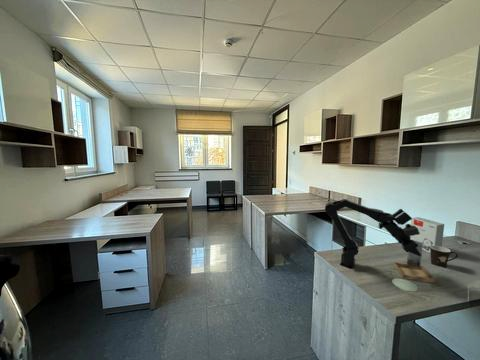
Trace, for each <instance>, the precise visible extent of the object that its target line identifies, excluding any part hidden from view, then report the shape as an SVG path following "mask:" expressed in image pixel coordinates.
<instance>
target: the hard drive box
mask: <svg viewBox="0 0 480 360" xmlns="http://www.w3.org/2000/svg"><path fill="white" fill-rule="evenodd" d="M411 218H412V219H411V220H410V225H411V226H412V225H413V226H416V227H417V229H418V231H419V233H420V234H419V235H413V236H410V237H411V238H410V240H414V241H418V242H421V243H422V244H423V247H422V251H424V252H426V253H429V254H430V246H432V245H435V246H441V247H443V238H444V230H445V224H444V223H441V222H438V221H434V220H431V219H427V218H422V217H418V216H416V217H411Z"/></svg>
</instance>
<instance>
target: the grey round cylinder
mask: <svg viewBox="0 0 480 360" xmlns="http://www.w3.org/2000/svg"><path fill="white" fill-rule="evenodd" d="M415 242H416V243H417V244H418V245H419V246H418V247H416V248H417V250H418V251H419V252H420V254H421V256H418V255H415V254H413V253H411V252H407V257H406V264H409V265H411V266H414V267H420V266H422V265H421V264H422V257H423V256H422V255H423V250H422V247H423V244H422V243H421V242H418V241H415Z"/></svg>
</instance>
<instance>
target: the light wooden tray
mask: <svg viewBox="0 0 480 360" xmlns="http://www.w3.org/2000/svg"><path fill="white" fill-rule="evenodd" d="M392 265H393V267H394V268H395V270H396V271H397V273H398V274H399V275H400V277H401V279H404V280H409V281H410V280H411V281H418V282H425V283H431V284H436V283H437V280H436V278H435V277H434V276H433V275H432V274H431V273H430V272H429V271H428V269H426V267H424V266H423V265H421V266H420V267H414V266H411V265H409V264H407V262H406V263H405V262H404V263H403V262H396V261H393V264H392Z"/></svg>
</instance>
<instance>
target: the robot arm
mask: <svg viewBox="0 0 480 360" xmlns="http://www.w3.org/2000/svg"><path fill="white" fill-rule="evenodd" d="M343 208H348V209H350V210H353V211H356V212H358V213H360V214H364V215H366V216H367V217H369V218H371V219H372V220H373V221H376V222H377V223H378V227H377V228H379V229H380V230H382V229H383V228H384V229H385V231H386V232H388V233H389V234H390V235H391V237H393V239H395V240H396V242H397V243H399V244H401V248H402V249H403V250H404V251H405V252H406V253H408V252H411V253H413V254H415V255H418V256H421V254H420V252H419V251H418V250H417V248H416V247H418V246H419V245H418V244H417V243H416V242H415V241H414V240H410V238H411V237H410V236H413V235H419V234H420V233H419V231H418V229H417V227H416V226H413V225H412V226H411V223H408V222H409V221H410V222H411V219H412V218H413V217H411V216H410V215H409V214H408V213H407V212H406V211H404V210H403V209H402V208H398V210H397V211H396V212H394V213H392V214H391V213H389V212H385V211H384V210H381V209H377V208H372V207H371V208H370V207H367V206H364V205H362V204H359V203H356V202H354V201H352V200H349V199H347V198H343V199H339V200H336V201H333V202H330V201H329V202H327V203H326V204H325V205H324V211H325V212H326V214H327V215H328V216H329V217H330V218H331V219H332V222H334V225H335V226H336V229H337V230H338V232H339V234H340V236H341V238H342V240H343V242H344V245H345V246H343V247H342V249H341V250H342V253H341V257H340V259H341V260H340V263H339V265H341V266H343V267H346V268H348V269H353V267H355V266H356V258H355V256H357V255H358V254H359V249H360V248H359V244H358V243H357V242H356V240H355V238H352V237H351V236H350V235H349V233H348V230H347V229H346V227H345V225H344V224H343V221H342V220H341V218H340V216H339V213H338V211H340V210H342V209H343ZM399 225H401V226H403V225H405V227H403V228H402V227H401V226H399Z"/></svg>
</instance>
